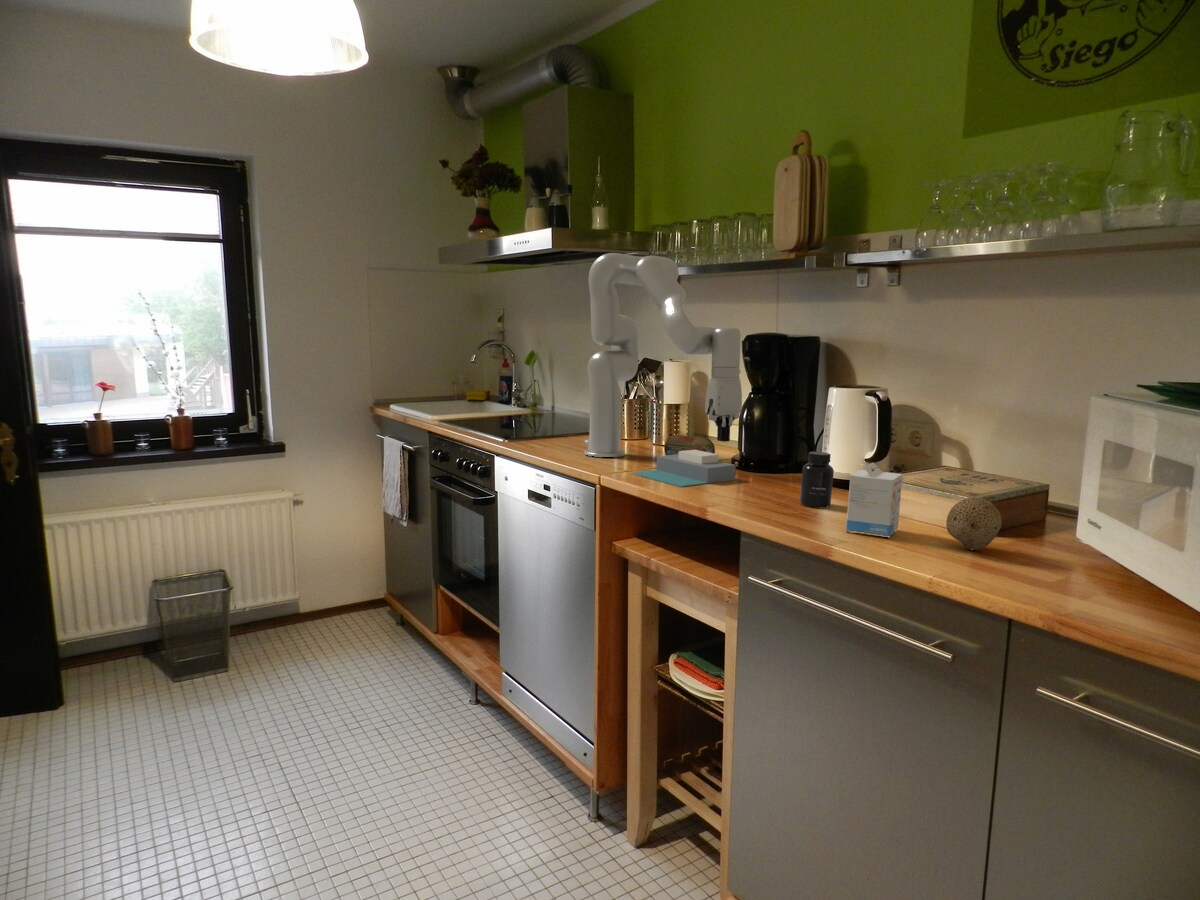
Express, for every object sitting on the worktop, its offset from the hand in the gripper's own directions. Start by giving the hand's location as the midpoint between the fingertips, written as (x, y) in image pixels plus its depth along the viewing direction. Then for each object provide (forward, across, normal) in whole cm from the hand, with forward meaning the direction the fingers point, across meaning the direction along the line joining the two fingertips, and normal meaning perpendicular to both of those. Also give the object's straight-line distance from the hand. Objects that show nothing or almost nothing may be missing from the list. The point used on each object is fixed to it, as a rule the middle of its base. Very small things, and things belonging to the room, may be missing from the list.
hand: (723, 440), depth 212 cm
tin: (+9, -1, -15) cm, 17 cm away
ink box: (+10, +19, +60) cm, 64 cm away
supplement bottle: (+10, +10, +39) cm, 42 cm away
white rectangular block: (+5, +9, -1) cm, 10 cm away
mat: (+9, +19, -1) cm, 21 cm away
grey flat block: (+9, +10, -1) cm, 13 cm away
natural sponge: (+11, +15, +78) cm, 80 cm away
